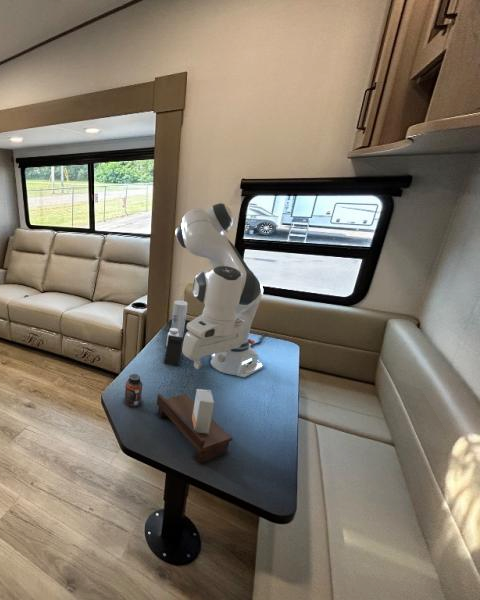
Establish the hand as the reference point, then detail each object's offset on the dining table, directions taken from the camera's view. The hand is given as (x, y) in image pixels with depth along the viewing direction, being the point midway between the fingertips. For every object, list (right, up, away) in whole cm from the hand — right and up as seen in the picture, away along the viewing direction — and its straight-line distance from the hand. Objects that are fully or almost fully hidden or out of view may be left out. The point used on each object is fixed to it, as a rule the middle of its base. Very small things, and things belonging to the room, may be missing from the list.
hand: (209, 364), depth 96 cm
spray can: (+11, -1, +70) cm, 71 cm away
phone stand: (+3, -8, +50) cm, 51 cm away
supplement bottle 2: (+6, -4, +61) cm, 61 cm away
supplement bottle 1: (-20, -19, +23) cm, 36 cm away
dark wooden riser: (-3, -24, +9) cm, 26 cm away
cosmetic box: (-2, -20, +3) cm, 21 cm away
